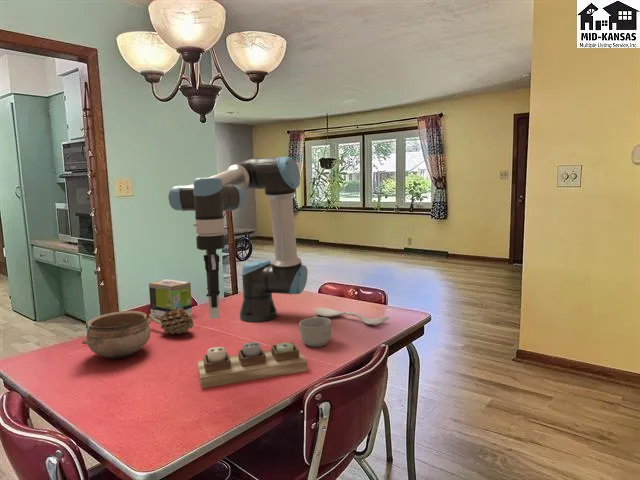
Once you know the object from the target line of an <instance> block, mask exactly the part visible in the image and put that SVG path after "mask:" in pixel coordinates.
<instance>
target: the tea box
mask: <svg viewBox="0 0 640 480" xmlns="http://www.w3.org/2000/svg"><path fill="white" fill-rule="evenodd" d="M148 289H149V293H148V294H149V304H150V314H151V315H153V317H154V318H156V319H160V318H161V316H162V315H164V314H165V313H166V312H167V311H168V312H170V311H172V309H176V310H177V309H178V308H183V310H184V311H186V310H187V313H189V314H191V317H192V315H193V306H192V305H193V304H192V287H191V282H190V281H184V280H178V279H168V278H167V279H166V278H165V279H161V280H158V281H157V280H156V281H153V282H149V283H148Z"/></svg>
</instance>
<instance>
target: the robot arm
mask: <svg viewBox="0 0 640 480" xmlns="http://www.w3.org/2000/svg"><path fill="white" fill-rule="evenodd" d="M300 184H301V173H300V168H299V165H298V164H297V162H296V160H295V159H294V158H292V157H290V156H272V157H254V158H250V159H246V160H243V161H240V162H238V163H235V164H233V165H230V166H229V167H227V170H225V171H223V172H220V173H216V174H214V175H212V176H209V177H196V178H195V179H194V180H193V183H190V184H188V185H181V184H180V185H175V186H173V187H171V188H170V190H169V191H168V196H167V199H168V203H169V206H170V208H172V209H173V210H175V211H182V212H186V211H187V212H188V211H189V212H190V211H194V213H195V215H194V219H195V222H194V223H193V224H192V226H193V227H196V228H195V233H196V234H197V236H196V238H195V240H196V249H197V250H200V251H205V254H203V261H204V269H205V271H206V273H205V274H206V285H207V288H206V290H207V294H205V295H206V298H207V299H208V301H207V302H208V318H209V319H210V320H212V319H213V320H214V319H221V317H220V315H221V314H220V300H219V298H220V297H219V295H220V294H221V291H220V280H219V279H220V276H219V275H220V274H219V272H220V255H219V254H217V250H221V249H224V248H225V247H226V244H225V242H226V241H225V235H224V233H225V220H224V219H225V218H224V211H225V212H227V211H228V212H229V211H235V210H238V209H240V208H241V207H243V206H244V203H245V200H246V194H245V192H244V190H248V189H251V190H252V189H253V190H254V189H255V190H256V189H257V190H259V189H260V190H262V189H263V190H264V195H265V196H266V197H268V199H269V206H270V216H271V227H272V237H273V246H274V257H275V258H274V259H273V260H272V261H271V260H270V259H259V260H254V261H251V262H250V261H249V262H247V263H244V264H243V266H242V271H241V272H242V273H241V277H242V295H243V296H242V297H243V300H242V303H241V307H240V310H239V319H240V320H241V321H244V322H250V323H254V322H255V323H259V322H266V321H270V320H273V319H275V318H276V317H277V315H278V313H277V307H276V305H275V301H274V299H273V294H280V295H281V294H283V295H300V294H302V292H303V291H304V290H305V287H306V286H307V281H308V274H309V273H308V268H307V266H306V265H304V264H303V263H302V259H301V258H300V257H299V256H298V252H297V251H298V250H297V242H296V241H297V238H296V229H295V227H296V226H295V217H294V205H293V196H294V195H295V194H296V192H297V191H296V189H297V188H299V187H300Z"/></svg>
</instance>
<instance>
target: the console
mask: <svg viewBox="0 0 640 480" xmlns="http://www.w3.org/2000/svg"><path fill="white" fill-rule="evenodd" d="M290 343H291V344H293V351H287V352H280V353H278V352H277V348H276V346H277V345H278V344H273V345H271V348H270V349H271V350H266V351H265V350H263V348H262V347H260V356H253V357H246V358H245V357H243V349H239V350H238V352H237V353H238V354H237V355H236V354H235V355H229V352H228V351H225V352H226V360H225V361H219V362H212V363H209V362H208V354H203V359H202V360H197V371H198V377H199V383H200V388H201V389H203V388H210V387H217V386H222V385H229V384H235V383H241V382H247V381H254V380H259V379H260V380H261V379H264V378H265V379H266V378H270V377H272V378H273V377H278V376H282V375H289V374H295V373H302V372H307V371H308V360H307V359H306V358H305V356H304V355H303V354H302V353H301V352H300V349H299V347H297V345H296V344H295V343H294V342H290Z"/></svg>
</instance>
